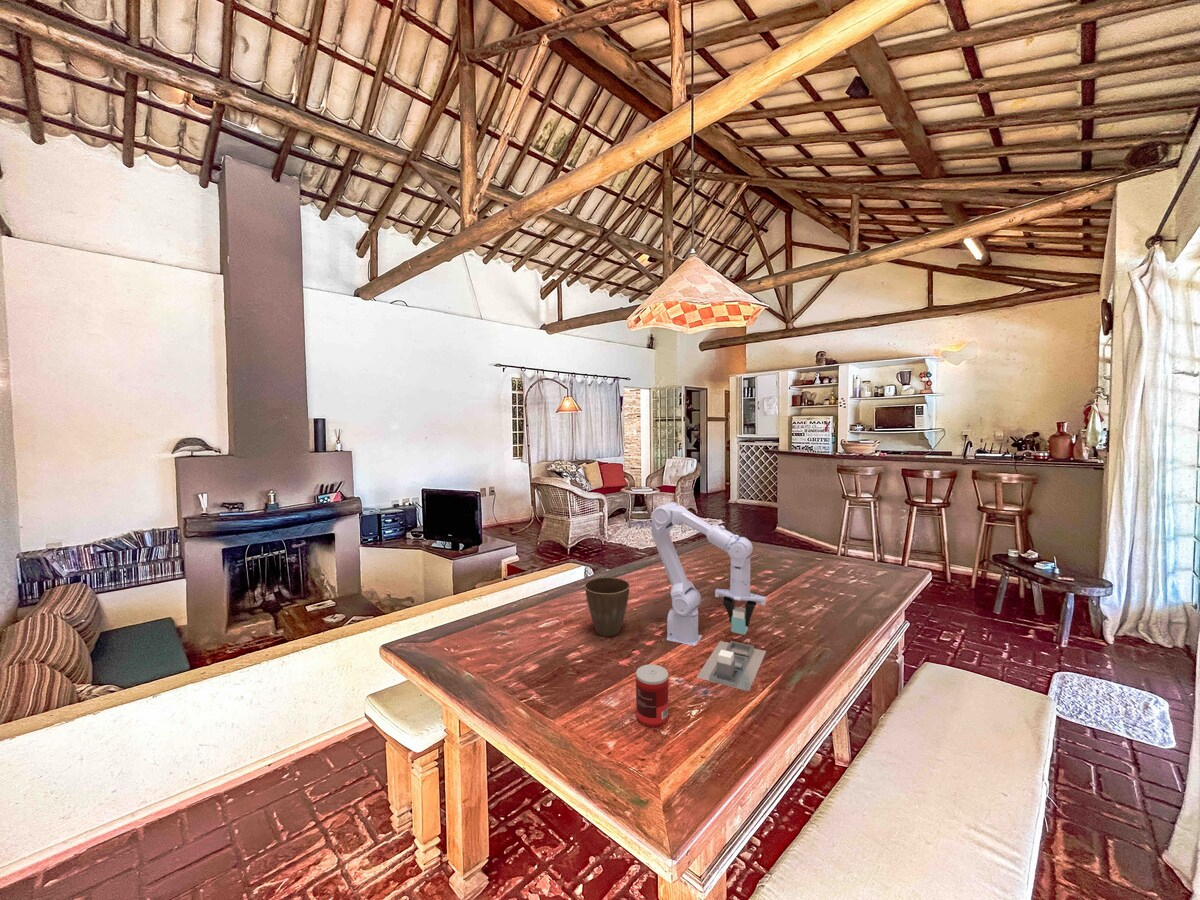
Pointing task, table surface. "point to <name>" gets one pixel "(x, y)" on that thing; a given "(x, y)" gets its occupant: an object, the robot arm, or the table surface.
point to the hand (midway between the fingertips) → (739, 623)
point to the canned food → (652, 695)
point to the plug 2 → (739, 621)
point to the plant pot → (607, 603)
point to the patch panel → (744, 665)
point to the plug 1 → (726, 665)
